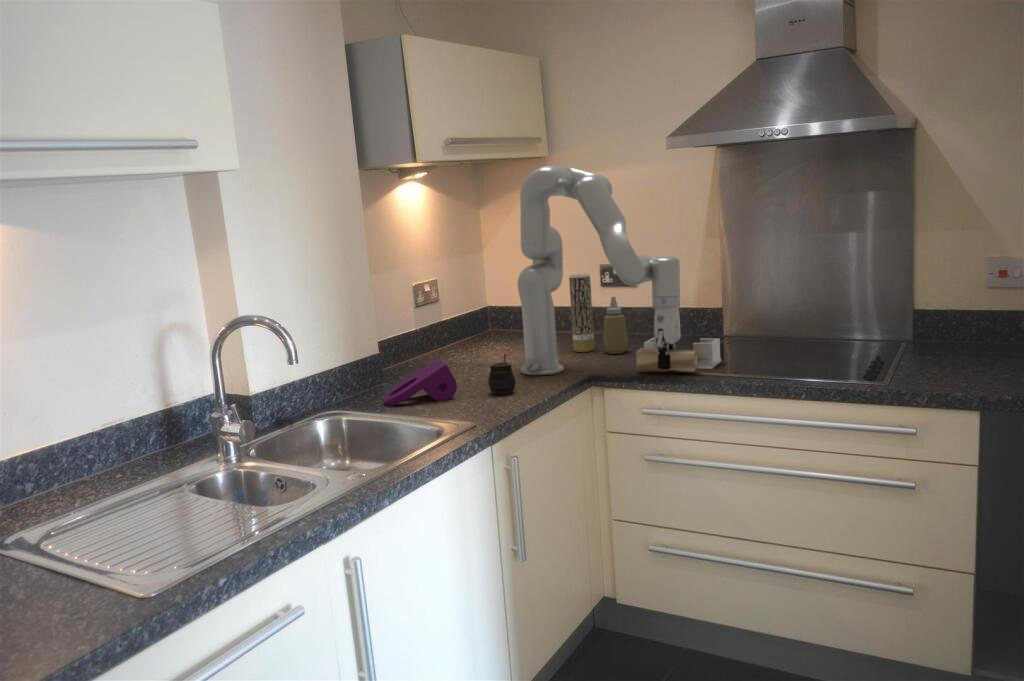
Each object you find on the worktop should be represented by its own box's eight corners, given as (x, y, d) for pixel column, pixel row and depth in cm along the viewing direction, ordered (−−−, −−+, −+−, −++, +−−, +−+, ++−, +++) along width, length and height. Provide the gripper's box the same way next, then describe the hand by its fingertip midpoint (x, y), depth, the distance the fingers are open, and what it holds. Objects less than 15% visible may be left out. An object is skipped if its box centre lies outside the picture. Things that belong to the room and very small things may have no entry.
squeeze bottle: (626, 355, 266) (623, 298, 263) (601, 355, 268) (597, 299, 265) (631, 350, 273) (628, 294, 270) (606, 350, 276) (603, 295, 273)
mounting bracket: (404, 428, 220) (462, 391, 224) (387, 402, 218) (446, 364, 221) (398, 420, 229) (453, 384, 233) (381, 395, 227) (438, 358, 230)
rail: (693, 371, 230) (693, 353, 229) (636, 368, 237) (636, 350, 236) (696, 368, 234) (696, 350, 233) (640, 365, 240) (640, 348, 240)
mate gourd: (486, 396, 223) (483, 359, 222) (492, 390, 231) (489, 354, 229) (513, 395, 222) (510, 358, 220) (518, 389, 229) (515, 353, 228)
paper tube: (569, 350, 280) (565, 275, 276) (587, 348, 282) (583, 273, 278) (580, 353, 274) (575, 276, 269) (598, 350, 276) (593, 274, 272)
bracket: (712, 368, 237) (711, 344, 235) (643, 366, 246) (642, 343, 245) (721, 361, 245) (720, 337, 244) (654, 360, 255) (653, 337, 253)
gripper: (670, 306, 223) (670, 374, 226) (687, 298, 238) (688, 361, 241) (643, 305, 226) (644, 372, 230) (662, 297, 241) (662, 360, 244)
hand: (666, 366), depth 235 cm, fingers closed on rail, 4 cm apart
